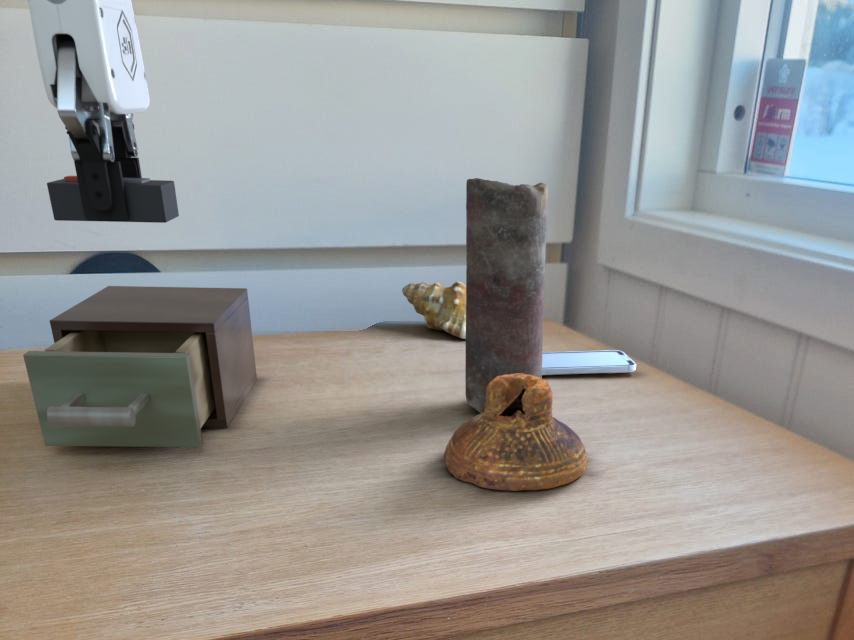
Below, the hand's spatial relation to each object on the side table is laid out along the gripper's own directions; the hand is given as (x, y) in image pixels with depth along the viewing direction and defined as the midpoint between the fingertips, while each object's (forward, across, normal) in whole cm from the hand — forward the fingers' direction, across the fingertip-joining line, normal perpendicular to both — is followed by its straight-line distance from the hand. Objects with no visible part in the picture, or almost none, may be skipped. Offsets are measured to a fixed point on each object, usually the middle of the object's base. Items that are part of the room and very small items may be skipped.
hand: (117, 213), depth 69 cm
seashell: (+18, +39, -27) cm, 50 cm away
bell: (+18, -9, -32) cm, 37 cm away
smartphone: (+17, +22, -40) cm, 49 cm away
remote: (0, 0, 0) cm, 0 cm away
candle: (+18, +7, -32) cm, 37 cm away
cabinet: (+17, +8, 0) cm, 19 cm away
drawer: (+16, -3, 0) cm, 17 cm away
